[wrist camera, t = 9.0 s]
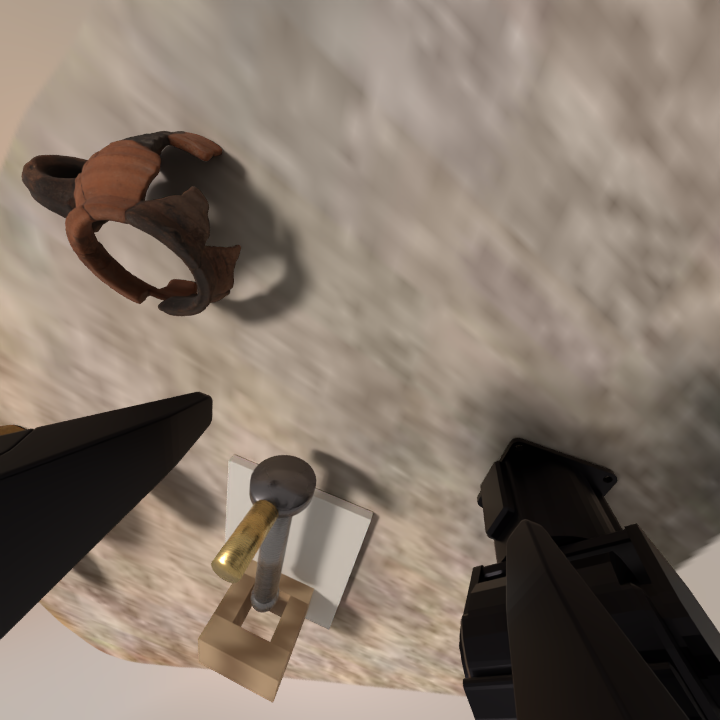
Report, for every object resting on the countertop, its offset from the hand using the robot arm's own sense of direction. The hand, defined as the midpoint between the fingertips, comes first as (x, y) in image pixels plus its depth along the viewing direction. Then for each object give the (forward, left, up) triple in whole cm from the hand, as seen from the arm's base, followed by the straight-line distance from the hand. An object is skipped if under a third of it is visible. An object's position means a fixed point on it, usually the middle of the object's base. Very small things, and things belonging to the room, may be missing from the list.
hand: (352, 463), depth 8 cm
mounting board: (+5, +27, -12) cm, 30 cm away
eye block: (+5, +33, -12) cm, 35 cm away
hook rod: (+5, +20, -10) cm, 23 cm away
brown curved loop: (+17, -3, -13) cm, 21 cm away
